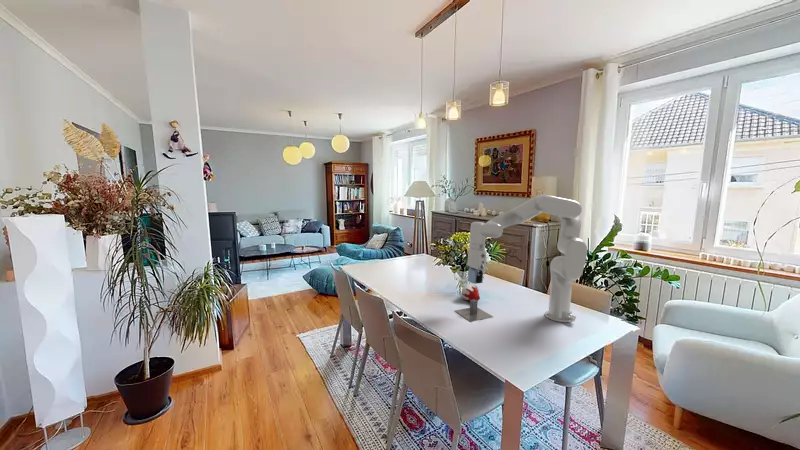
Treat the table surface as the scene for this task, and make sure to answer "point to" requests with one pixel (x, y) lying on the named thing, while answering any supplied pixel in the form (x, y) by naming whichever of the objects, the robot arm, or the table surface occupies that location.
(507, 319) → the table surface
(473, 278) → the blue-grey rectangular block
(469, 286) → the red white rounded piece
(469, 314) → the square pedestal stand
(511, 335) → the table surface
